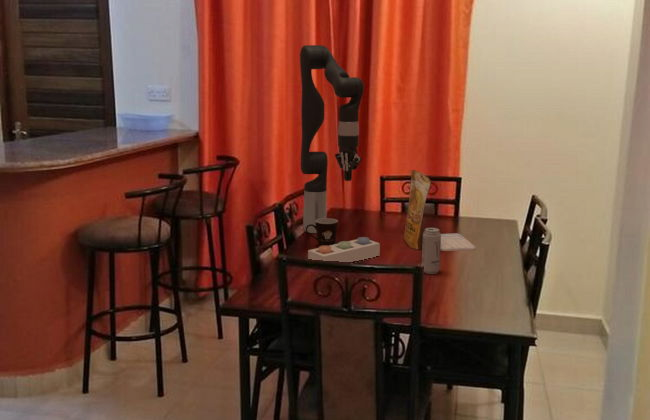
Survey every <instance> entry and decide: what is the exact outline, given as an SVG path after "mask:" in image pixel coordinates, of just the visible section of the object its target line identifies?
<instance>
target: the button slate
mask: <svg viewBox="0 0 650 420" xmlns="http://www.w3.org/2000/svg"><path fill="white" fill-rule="evenodd" d="M369 240H370V238H369V237H367V236H359V237H357V244H360V245H366V244H369Z"/></svg>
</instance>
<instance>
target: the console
mask: <svg viewBox="0 0 650 420" xmlns="http://www.w3.org/2000/svg"><path fill="white" fill-rule="evenodd" d="M348 242H351V248H349V249H345V250H343V249H340V248H338V243H335V244H334V245H330V246H331V253H328V254H321V253H319V247H317V248H313V249H309V250H307V260H308V259H312V260H323V261H339V262H353V261H359V260H363V261H365V260H364V259H367V260H369V259H368V258H371V259H374V258H373V257H375V258H377V257H376V256H379V257H380V249H381V247H380V246H381V245H380V243H379V242H377V241H374V240H371V239H369V244H366V245H360V244H357V239H353V240H348ZM359 262H360V261H359Z"/></svg>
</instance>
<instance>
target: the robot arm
mask: <svg viewBox="0 0 650 420" xmlns="http://www.w3.org/2000/svg"><path fill="white" fill-rule="evenodd" d="M299 63H300V64H299V65H300V67H299V68H300V78H301V107H300V109H301V111H300V112H301V146H300V148H301V149H300V170H301V173H302V174H303V175H317V177H315V178H314V179H311V180H310V181H309V180H308V181H307V182H305V183H304V187H303V188H304V191H303V192H304V194H303V196H304V198H303V199H304V202H303V203H304V205H303V208H302V214H303V215H302V220H303V222H302V223H303V224H302V229H303V230H304V232H306V227H307V226H308V225H310V224H312V225H315V226H316V222H315V221H316V220H317V219H322V218H327V211H328V209H327V206H328V205H327V202H328V201H327V195H328V194H327V193H328V191H327V190H328V189H327V187H328V186H327V185H328V182H327V181H328V165H329V163H328V161H329V159H328V154H327V153H326V151H320V150H319V151H310V149H311V144H312V141H313V140H314V137H315V136H316V134H317V133H318V132H319V131H320V129H321V127H322V125H323V123H324V121H325V101H324V98H323V97H322V95H321V93H320V92H319V90H318V89H317V86H316V85H315V83H314V80H313V74H312V70H322V69H323V70H324V71H323V72H324V78H325V79H326V81H327V82H328V83H329V84H330V85H331V86H332V88H333V91H334V94H335V95H336V97H338V98H341V99H343V98H349V99H350V100H349V101H348V102H347V103H345V104H341V105H339V108H338V127H337V146H338V147H339V149H338V151H339V152H338V153H335V154H334V157H335V159H336V161H337V163H338V166H339V168H340V169H342V170H343V179H344V181H346V182H350V181H352V180H353V171H354V170H357V169H358V166H360V164H361V161H362V160H363V158H362V156H359V155H358V150H357V148H358V147H359V145H360V143H359V142H360V140H359V138H360V125H359V110H360V107H361V101H362V97H363V95H364V91H365V89H364V88H365V87H364V86H365V84H364V82H363V80H362V79H361V78H360V77H350V75H349V74H348V72H347V71H346V70H345V69H344V68H342V67H341V66H340V65H339V63H338V62H337V61H336V59H335V57H334V56H333V54H332V53H331V51H330V49H329V48H328V47H327V46H326V45H322V44H320V45H319V44H317V45H315V44H314V45H313V44H308V45H303V46H302V47H301V48H300V53H299ZM307 231H308V232H309V234H317V231H316V229H315V228H314V227H313V226H309V227H308V228H307Z"/></svg>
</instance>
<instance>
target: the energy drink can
mask: <svg viewBox="0 0 650 420" xmlns="http://www.w3.org/2000/svg"><path fill="white" fill-rule="evenodd" d="M441 234H442V233H441V232H440V229H439V228H437V227H426V228H424V230H423V235H422V248H421V249H422V250H421V266H422V265H423V266H424V272H423V273H424V274H427V275H436V274H438V273H439V271H440V263H441V250H440V246H441Z"/></svg>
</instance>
